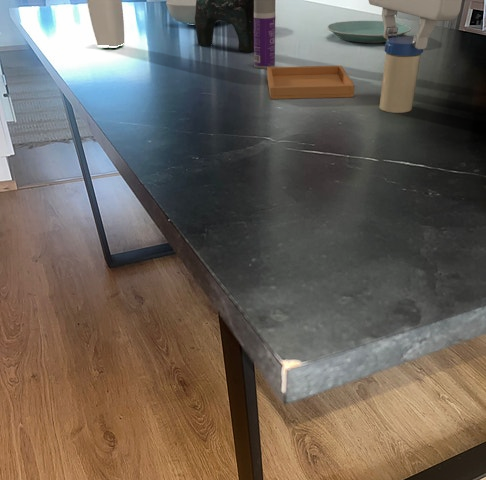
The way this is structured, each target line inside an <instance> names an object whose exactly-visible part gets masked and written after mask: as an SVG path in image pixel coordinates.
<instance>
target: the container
mask: <svg viewBox="0 0 486 480" xmlns="http://www.w3.org/2000/svg"><path fill="white" fill-rule="evenodd" d="M253 56H254V57H253V62H254V63H253V65H254V68H256V69H263V70H264V69H266V70H267V67H276V0H254V52H253Z"/></svg>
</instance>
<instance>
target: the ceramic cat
mask: <svg viewBox="0 0 486 480" xmlns="http://www.w3.org/2000/svg"><path fill="white" fill-rule="evenodd" d="M217 20H221V21H220V22H224V23H228V24H231V26H232V27H233V29H234V31H235V34H236V36H237V40H238V52H239V51H242V52H241V53H248V54H249V53H250V54H251V53H254V0H196V11H195V26H194V27H195V32H196V39H197V44H198V46H201V47H209V46H208V45H210V46H212V45H213V39H214V32H215V26H216V24H217V23H216V21H217ZM211 44H212V45H211Z"/></svg>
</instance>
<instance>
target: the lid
mask: <svg viewBox="0 0 486 480" xmlns="http://www.w3.org/2000/svg"><path fill="white" fill-rule="evenodd" d="M412 43H413V36H400V37H392V38H388V39H387V41H386V42H385V45H384V46H385V47H384V53H385V54H386V53H388V54H391V55H398V56H414V55H419V54H421V55H422V53H424V49H416V48H413V47H412Z"/></svg>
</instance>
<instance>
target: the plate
mask: <svg viewBox="0 0 486 480" xmlns="http://www.w3.org/2000/svg"><path fill="white" fill-rule="evenodd" d="M395 23H396V27H398V32H397V37H403V35H405V34H407V33H409V32H411V31H412V27H410V26H409V25H406V24H402V23H397V22H395ZM326 27H327V30H328V31H330V32H331V33H333V34H334V35H336V36H337V37H338V38H340V39H341V40H344V41H347V42H354V43H355V42H356V43H366V44H368V43H369V44H370V43H371V44H372V43H373V44H376V43H386V41H387V39H386V38H384V37H383V35H384V24H383V20H349V21H348V20H347V21H338V22H333V23H330V24H328V25H327V26H326Z"/></svg>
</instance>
